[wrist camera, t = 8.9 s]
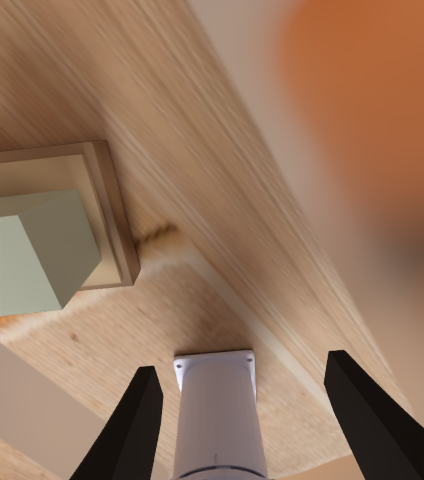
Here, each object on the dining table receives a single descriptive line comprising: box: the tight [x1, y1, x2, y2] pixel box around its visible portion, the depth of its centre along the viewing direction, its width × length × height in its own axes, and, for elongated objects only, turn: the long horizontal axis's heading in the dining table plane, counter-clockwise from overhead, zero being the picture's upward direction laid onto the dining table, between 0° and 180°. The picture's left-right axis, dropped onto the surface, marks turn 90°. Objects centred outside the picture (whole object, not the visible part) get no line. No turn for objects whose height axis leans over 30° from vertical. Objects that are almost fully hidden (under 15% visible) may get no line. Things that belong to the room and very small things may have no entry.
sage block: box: [0, 188, 102, 316], centre depth 13 cm, size 5×5×5 cm
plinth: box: [0, 140, 140, 291], centre depth 17 cm, size 10×8×3 cm
